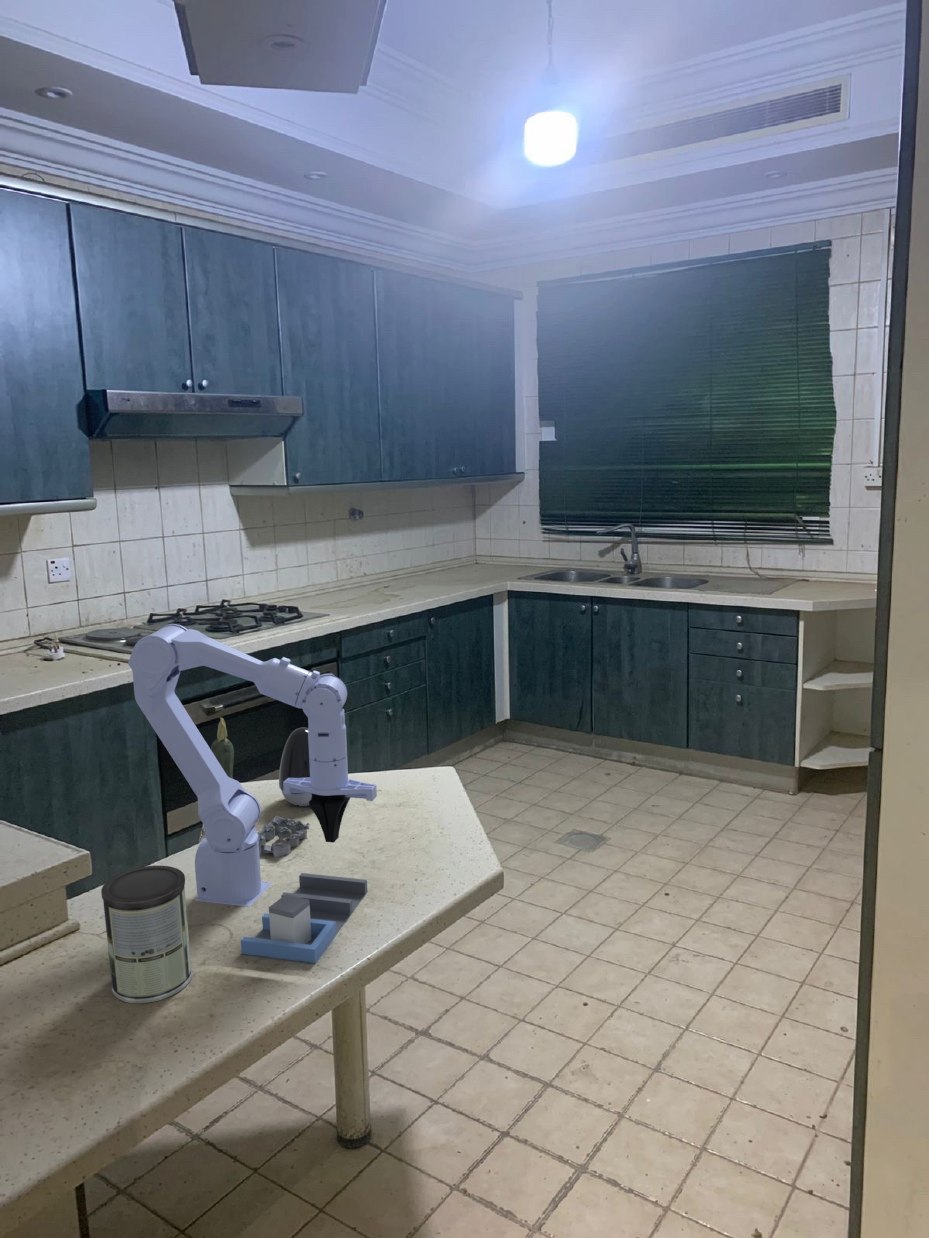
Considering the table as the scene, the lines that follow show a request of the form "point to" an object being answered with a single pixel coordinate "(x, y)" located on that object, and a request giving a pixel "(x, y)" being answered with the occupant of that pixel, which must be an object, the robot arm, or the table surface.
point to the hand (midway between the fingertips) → (332, 839)
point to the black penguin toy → (296, 764)
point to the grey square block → (290, 920)
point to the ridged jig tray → (312, 918)
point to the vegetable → (223, 749)
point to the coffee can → (147, 933)
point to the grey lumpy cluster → (281, 836)
